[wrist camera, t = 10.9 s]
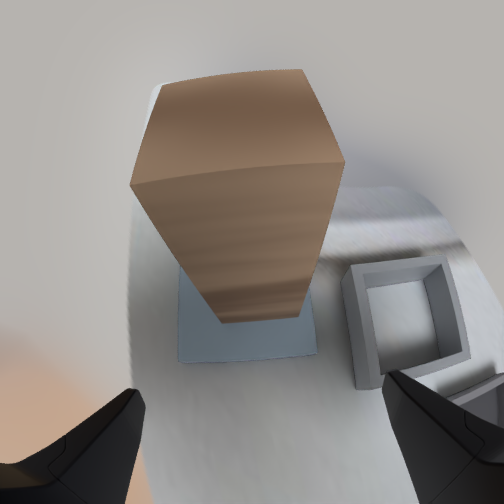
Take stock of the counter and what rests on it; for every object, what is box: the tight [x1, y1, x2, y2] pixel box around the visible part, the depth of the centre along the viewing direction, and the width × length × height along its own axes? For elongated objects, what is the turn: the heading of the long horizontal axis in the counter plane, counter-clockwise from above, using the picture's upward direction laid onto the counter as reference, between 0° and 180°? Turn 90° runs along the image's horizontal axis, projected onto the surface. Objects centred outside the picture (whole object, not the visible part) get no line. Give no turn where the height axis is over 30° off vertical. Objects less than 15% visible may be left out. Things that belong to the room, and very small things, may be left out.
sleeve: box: [341, 254, 471, 390], centre depth 16 cm, size 8×8×3 cm
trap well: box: [446, 373, 504, 428], centre depth 12 cm, size 7×7×2 cm
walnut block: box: [130, 69, 345, 324], centre depth 13 cm, size 5×5×14 cm
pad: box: [178, 265, 318, 363], centre depth 20 cm, size 10×9×1 cm
